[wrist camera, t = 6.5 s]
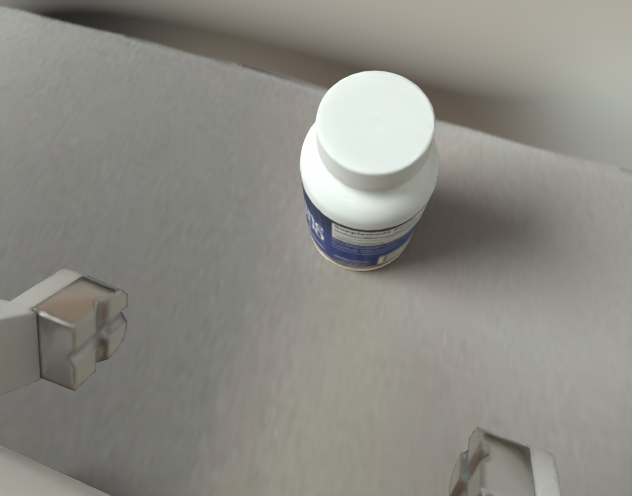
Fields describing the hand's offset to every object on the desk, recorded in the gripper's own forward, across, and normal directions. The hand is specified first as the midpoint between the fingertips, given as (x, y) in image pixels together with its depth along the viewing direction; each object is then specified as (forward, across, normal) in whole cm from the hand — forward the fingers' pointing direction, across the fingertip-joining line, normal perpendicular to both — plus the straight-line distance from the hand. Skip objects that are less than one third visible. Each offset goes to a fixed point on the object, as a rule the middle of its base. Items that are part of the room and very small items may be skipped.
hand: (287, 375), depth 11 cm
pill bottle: (+15, +1, +3) cm, 16 cm away
